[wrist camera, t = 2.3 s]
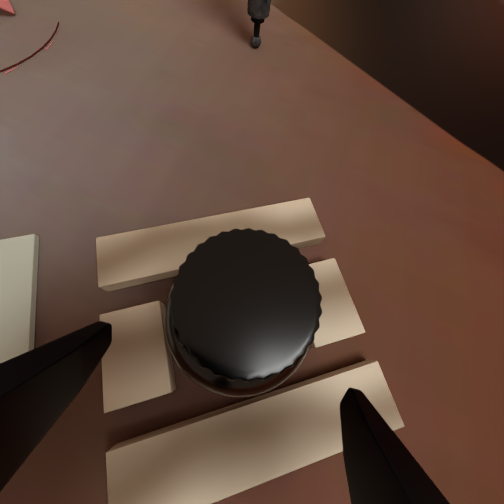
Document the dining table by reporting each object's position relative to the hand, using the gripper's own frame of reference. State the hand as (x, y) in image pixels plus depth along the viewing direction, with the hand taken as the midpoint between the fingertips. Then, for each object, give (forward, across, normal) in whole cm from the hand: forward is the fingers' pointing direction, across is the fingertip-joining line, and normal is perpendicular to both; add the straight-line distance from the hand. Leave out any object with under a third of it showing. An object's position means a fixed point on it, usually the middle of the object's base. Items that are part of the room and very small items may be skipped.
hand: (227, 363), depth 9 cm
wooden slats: (+8, 0, +5) cm, 10 cm away
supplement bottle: (+8, 0, +5) cm, 10 cm away
